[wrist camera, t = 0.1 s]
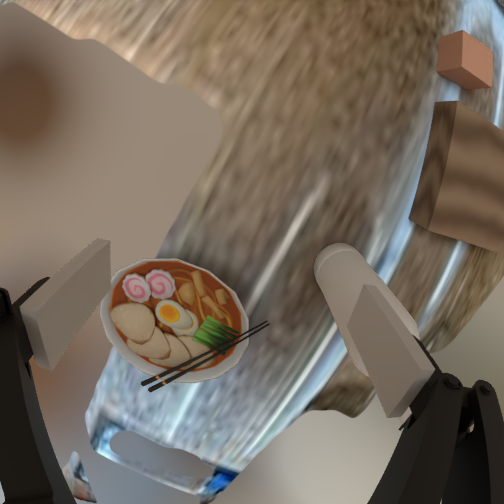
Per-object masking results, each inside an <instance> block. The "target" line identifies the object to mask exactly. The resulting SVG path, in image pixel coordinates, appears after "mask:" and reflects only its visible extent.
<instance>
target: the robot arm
mask: <svg viewBox="0 0 504 504" xmlns="http://www.w3.org/2000/svg"><path fill="white" fill-rule="evenodd" d="M110 289H111V275H110V241H109V240H103V239H98V238H97V239H96V240H95V241H93V242H92V243H91V244H90V245H88V247H86V248H85V249H84V250H82V251H81V252H80V253H79V254H77V255H76V256H75V257H74V258H73V259H72V260H70V261H69V262H68V263H67V264H66V265H65V266H63V267H62V268H61V269H60V270H59V271H58V272H57V273H55V274H54V275H53V276H52V277H51V278H50V277H46V278H44V279H41V280H39V281H38V282H36V283H35V284H34V285H33V286H32V287H31V288H30V289H29V290H28V291H26V293H24V294H23V295H22V296H21V297H20V298H19V299H18V300H17V301H16V302H14V303H13V304H12V305H11V300H10V297H9V293H8V291H7V290H6V289H4V288H0V482H1V485H2V489H3V492H4V496H5V502H4V503H3V504H77V503H76V501H75V499H74V497H73V495H72V493H71V491H70V489H69V487H68V485H67V482H66V480H65V478H64V475H63V473H62V471H61V468H60V466H59V464H58V461H57V458H56V456H55V453H54V451H53V448H52V445H51V442H50V439H49V436H48V433H47V430H46V427H45V423H44V420H43V417H42V413H41V409H40V406H39V402H38V398H37V394H36V390H35V385H34V380H33V376H32V371H31V366H30V363H29V359H30V358H31V357H32V355H34V358H35V361H36V364H37V365H38V366H40V367H42V368H44V369H47V370H49V371H53V369H54V368H55V366H56V365H57V363H58V362H59V360H60V359H61V357H62V356H63V354H64V353H65V351H66V349H67V348H68V347H69V345H70V344H71V342H72V341H73V339H74V338H75V337H76V335H77V334H78V332H79V331H80V329H81V328H82V326H83V325H84V324H85V322H86V321H87V320H88V318H89V317H90V316H91V314H92V313H93V312H94V310H95V309H96V307H97V306H98V305H99V303H100V302H101V301H102V299H103V298H104V297H105V296H106V294H107V293H108V292H109V290H110ZM347 328H348V330H349V332H350V335H351V337H352V339H353V341H354V343H355V345H356V348H357V350H358V352H359V354H360V356H361V359H362V361H363V363H364V365H365V367H366V370H367V372H368V374H369V376H370V379H371V381H372V383H373V386H374V388H375V390H376V393H377V395H378V397H379V400H380V402H381V404H382V407H383V409H384V411H385V414H386V416H387V418H392V417H401V416H402V415H403V414H404V413H405V411H406V410H407V409H408V407H409V408H410V410H411V412H412V413H411V415H410V416H409V417H408V418H407V420H406V421H405V422H404V423H403V424H402V426H401V427H400V428H399V430H401V429H402V428H403V427H404V429H403V431H402V434H401V436H400V439H399V441H398V444H397V446H396V448H395V450H394V453H393V455H392V457H391V460H390V462H389V463H388V466H387V468H386V470H385V472H384V474H383V476H382V478H381V480H380V482H379V484H378V485H377V487H376V489H375V491H374V493H373V495H372V496H371V498H370V500H369V502H368V503H367V504H440V502H441V499H442V504H504V422H503V417H502V413H501V409H500V406H499V402H498V399H497V395H496V392H495V390H494V388H493V387H492V385H491V384H490V383H488V382H486V381H484V380H478V381H476V383H475V384H474V385H473V387H472V388H467V387H463V385H462V383H461V382H460V380H459V379H458V378H457V377H455V376H454V375H452V374H449V373H442V372H441V370H440V369H439V367H438V366H437V364H436V363H435V361H434V360H433V358H432V357H431V356H430V355H429V352H428V351H427V350H426V348H425V347H424V345H423V344H422V342H421V341H420V340H419V339H418V338H416V337H415V336H414V335H412V334H411V333H410V331H409V330H408V329H407V327H406V326H405V324H404V323H403V322H402V320H401V319H400V317H399V316H398V315H397V313H396V312H395V311H394V309H393V308H392V307H391V305H390V304H389V303H388V301H387V300H386V299H385V297H384V296H383V295H382V293H381V292H380V291H379V289H378V288H377V287H376V286H374V285H368V284H363V287H362V290H361V292H360V295H359V297H358V300H357V303H356V305H355V308H354V310H353V312H352V315H351V317H350V320H349V322H348V324H347ZM473 424H474V428H473V431H472V432H470V429H469V428H470V427H471V426H472V425H473Z"/></svg>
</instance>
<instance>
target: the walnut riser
mask: <svg viewBox="0 0 504 504" xmlns="http://www.w3.org/2000/svg"><path fill="white" fill-rule="evenodd" d="M409 219H410V220H412V221H413V222H415V223H416V224H418V225H420V226H421V227H423V228H425V229H426V230H428V231H431V232H434V233H438V234H441V235H444V236H448V237H451V238H454V239H457V240H461V241H464V242H467V243H470V244H473V245H476V246H479V247H482V248H485V249H488V250H491V251H494V252H497V253H500V254H501V251H502V248H503V245H504V132H503V131H502V130H501V129H499V128H498V127H496V126H495V125H494V124H492V123H491V122H489V121H488V120H487V119H485V118H484V117H482V116H481V115H479V114H478V113H476V112H475V111H473V110H472V109H470V108H469V107H467V106H465V105H464V104H462V103H460V102H459V101H444V102H435V106H434V113H433V119H432V124H431V130H430V135H429V140H428V145H427V150H426V154H425V159H424V163H423V168H422V172H421V176H420V180H419V184H418V187H417V191H416V195H415V198H414V202H413V205H412V209H411V212H410V216H409Z"/></svg>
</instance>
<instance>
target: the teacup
mask: <svg viewBox="0 0 504 504" xmlns="http://www.w3.org/2000/svg"><path fill="white" fill-rule="evenodd" d="M497 1H498V3H499V4H500V5H501V6H502V7H504V0H497Z"/></svg>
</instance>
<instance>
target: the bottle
mask: <svg viewBox="0 0 504 504" xmlns="http://www.w3.org/2000/svg"><path fill="white" fill-rule="evenodd" d="M313 267H314V275H315V278H316V281H317V283H318V285H319V287H320V289H321V290H322V292H323V295H324V297H325V299H326V301H327V304H328V306H329V308H330V310H331V313H332V315H333V317H334V320H335V322H336V324H337V326H338V329H339V331H340V333H341V336H342V338H343V341H344V343H345V345H346V348H347V350H348V352H349V355H350V357H351V359H352V361H353V363H354V365H355V366H356V367H357V368H358V369H359V370H360V371H361V372H362V373H363V374H365V375H366V376H368V377H369V378H370V376H369V374H368V372H367V370H366V367H365V365H364V363H363V361H362V359H361V356H360V354H359V352H358V350H357V348H356V345H355V343H354V341H353V339H352V337H351V335H350V332H349V330H348V328H347V324H348V322H349V320H350V317H351V315H352V312H353V310H354V308H355V305H356V303H357V300H358V297H359V295H360V292H361V290H362V287H363V284H368V285H374V286H376V287H377V288H378V289H379V291H380V292H381V293H382V295H383V296H384V297H385V299H386V300H387V301H388V303H389V304H390V305H391V307H392V308H393V309H394V311H395V312H396V313H397V315H398V316H399V317H400V319H401V320H402V322H403V323H404V324H405V326H406V327H407V329H408V330H409V331H410V333H411V334H412V335H414V336H415V337H416V338H418V339H419V340H420V337H419V333H418V329H417V325H416V322H415V321H414V319H413V318H412V317H411V315H410V314H409V313H408V312H407V310H406V309H405V308H404V306H403V305H402V304H401V303H400V301H399V300H398V299H397V298H396V296H395V295H394V294H393V293H392V292H391V290H390V289H389V288H388V287H387V285H386V284H385V283H384V282H383V281H382V279H381V278H380V277H379V276H378V275H377V274H376V272H375V271H374V270H373V269H372V268H371V266H370V265H369V264H368V263H367V262H366V261H365V259H364V257H363V256H362V255H361V254H360V253H359V252H358V251H357V250H356V249H355V248H353V247H352V246H351V245H348V244H346V243H334V244H331V245H328V246H327V247H325V248H324V249H323V250H321V251H320V253H319V254H318V256H317V257H316V259H315V263H314V266H313ZM411 413H412V412H411V410H410V408H409V407H408V409H407V410H406V411H405V413H404V414H403V415H402V416H401V417H399V419H400V421H401V423H404V422H405V421H406V420H407V418H408V417H409V416H410V415H411Z"/></svg>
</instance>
